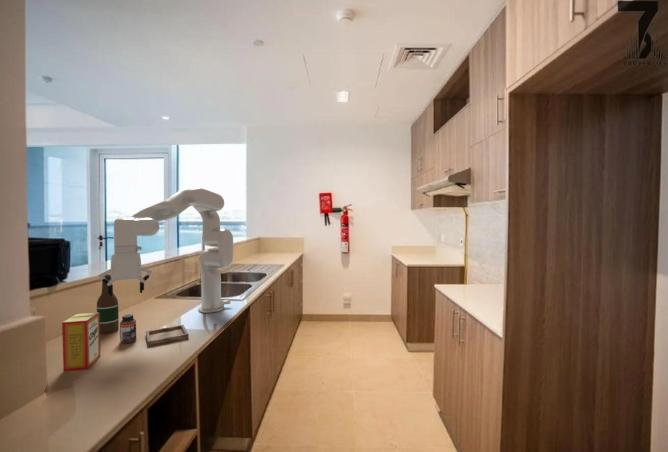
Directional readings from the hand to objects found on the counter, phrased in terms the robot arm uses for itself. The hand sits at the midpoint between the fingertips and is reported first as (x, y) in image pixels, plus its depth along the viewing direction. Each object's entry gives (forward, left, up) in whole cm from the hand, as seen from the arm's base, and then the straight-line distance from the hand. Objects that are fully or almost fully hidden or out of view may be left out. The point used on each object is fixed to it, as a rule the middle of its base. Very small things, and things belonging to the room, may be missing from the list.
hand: (126, 293), depth 125 cm
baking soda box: (+13, +14, -19) cm, 27 cm away
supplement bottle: (0, 0, -19) cm, 19 cm away
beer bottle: (+7, -18, -19) cm, 27 cm away
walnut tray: (-13, +4, -19) cm, 23 cm away
